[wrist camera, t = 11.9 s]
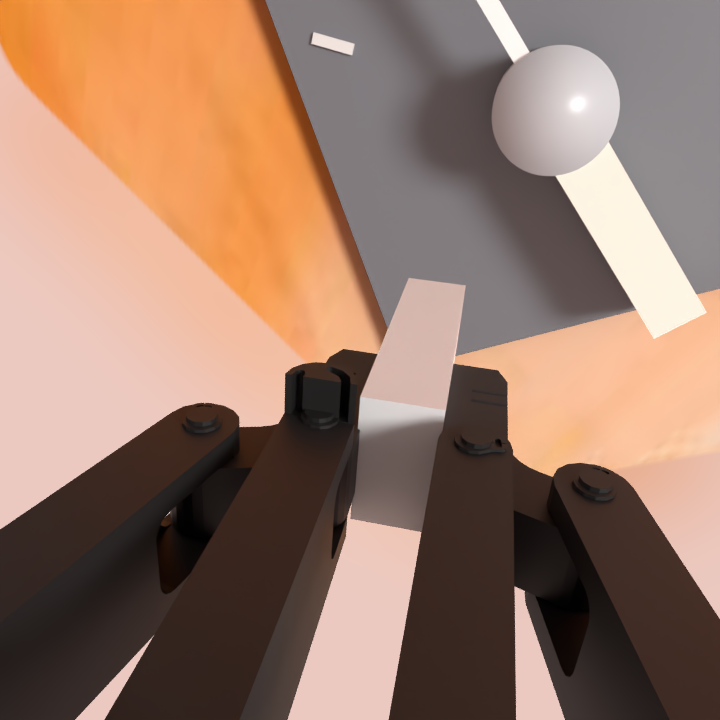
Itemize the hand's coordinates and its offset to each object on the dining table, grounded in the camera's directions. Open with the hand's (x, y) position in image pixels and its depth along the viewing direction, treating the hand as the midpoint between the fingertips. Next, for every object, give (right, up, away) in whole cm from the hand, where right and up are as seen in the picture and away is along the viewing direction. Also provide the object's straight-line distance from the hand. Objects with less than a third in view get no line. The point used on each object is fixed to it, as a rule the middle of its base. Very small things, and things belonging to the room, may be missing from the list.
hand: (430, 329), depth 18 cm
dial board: (+7, +11, +14) cm, 19 cm away
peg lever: (+7, +11, +13) cm, 18 cm away
